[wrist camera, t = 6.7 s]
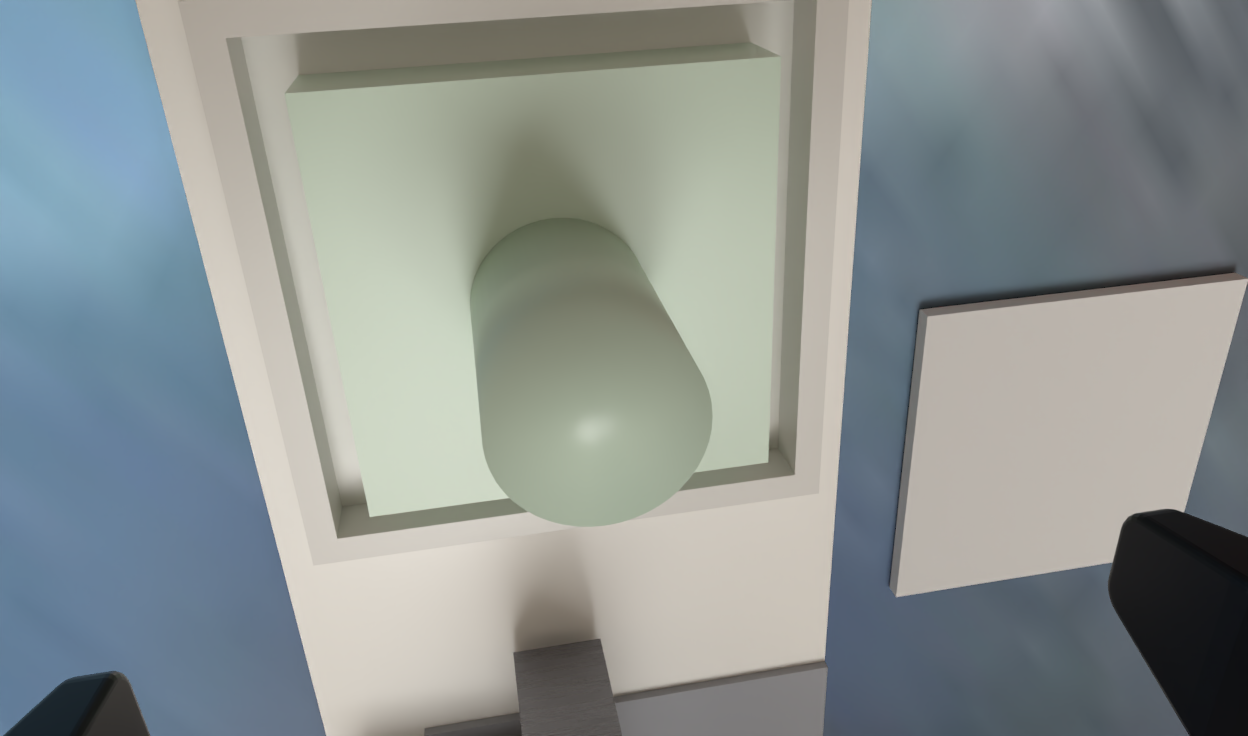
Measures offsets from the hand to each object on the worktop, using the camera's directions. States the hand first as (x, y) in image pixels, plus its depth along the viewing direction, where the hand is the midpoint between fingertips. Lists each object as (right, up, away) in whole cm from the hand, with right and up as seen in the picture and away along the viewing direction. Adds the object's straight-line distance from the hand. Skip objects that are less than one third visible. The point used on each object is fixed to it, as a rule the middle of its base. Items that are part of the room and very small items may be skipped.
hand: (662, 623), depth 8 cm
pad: (+10, +1, +15) cm, 19 cm away
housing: (-2, +1, +13) cm, 13 cm away
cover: (-2, +4, +8) cm, 9 cm away
